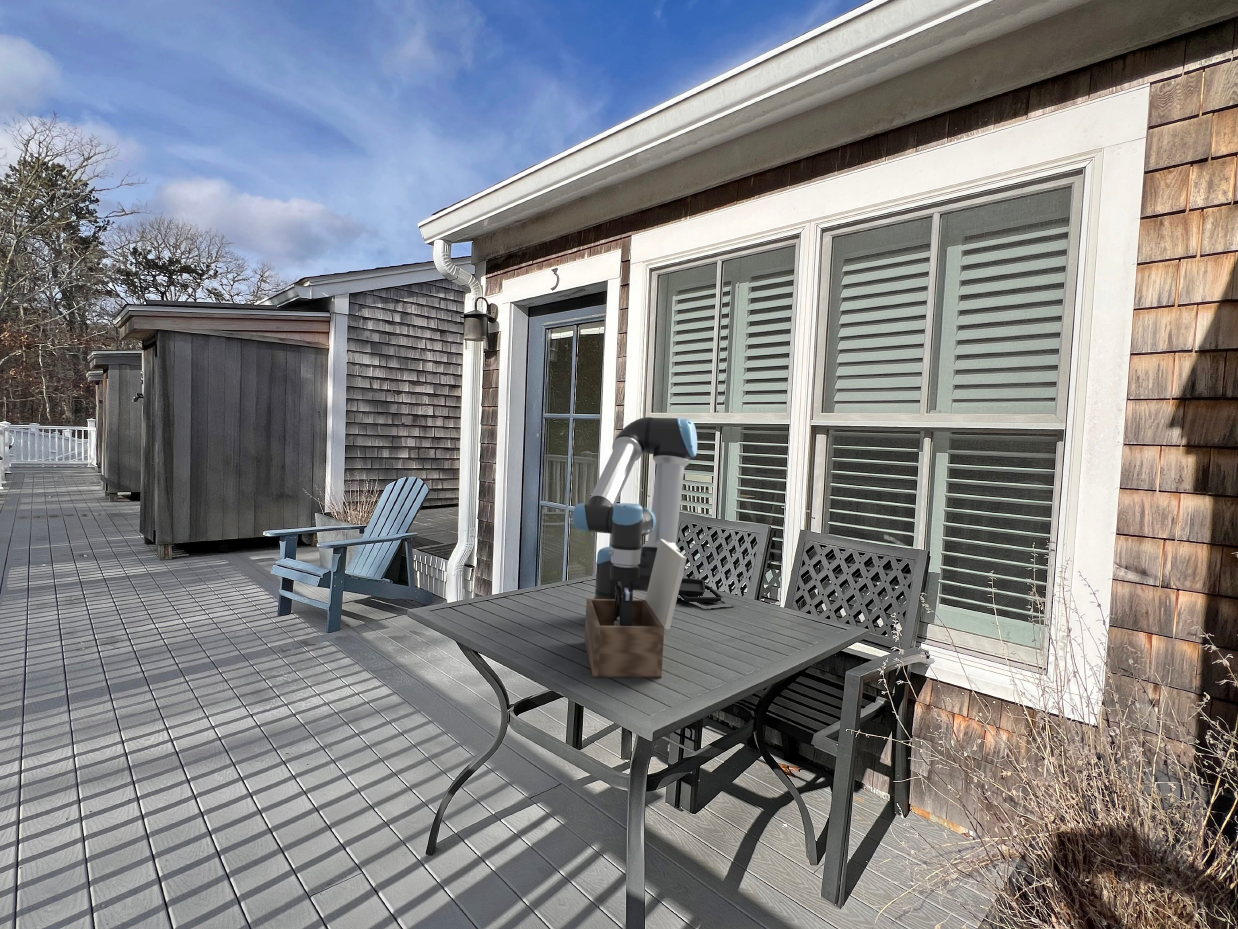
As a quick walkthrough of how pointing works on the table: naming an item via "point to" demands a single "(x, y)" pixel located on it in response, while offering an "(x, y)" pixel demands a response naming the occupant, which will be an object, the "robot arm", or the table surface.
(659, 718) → the table surface
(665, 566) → the lid
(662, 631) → the bin
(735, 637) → the table surface
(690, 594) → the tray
